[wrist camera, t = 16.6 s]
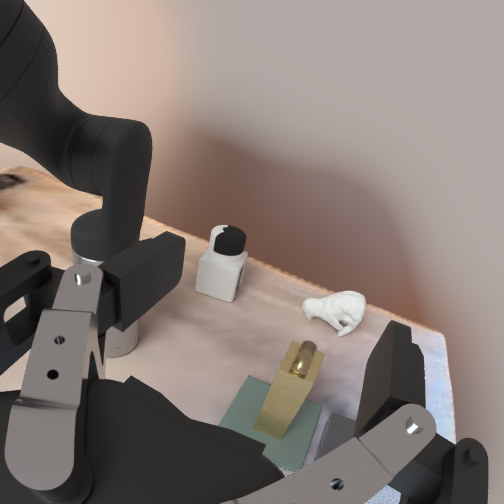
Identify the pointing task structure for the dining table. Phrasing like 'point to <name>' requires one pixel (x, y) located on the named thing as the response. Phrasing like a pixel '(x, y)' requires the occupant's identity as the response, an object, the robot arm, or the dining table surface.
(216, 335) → the dining table surface
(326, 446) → the plane body
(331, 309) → the white humped figurine
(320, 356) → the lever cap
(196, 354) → the dining table surface
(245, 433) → the mat
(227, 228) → the container
